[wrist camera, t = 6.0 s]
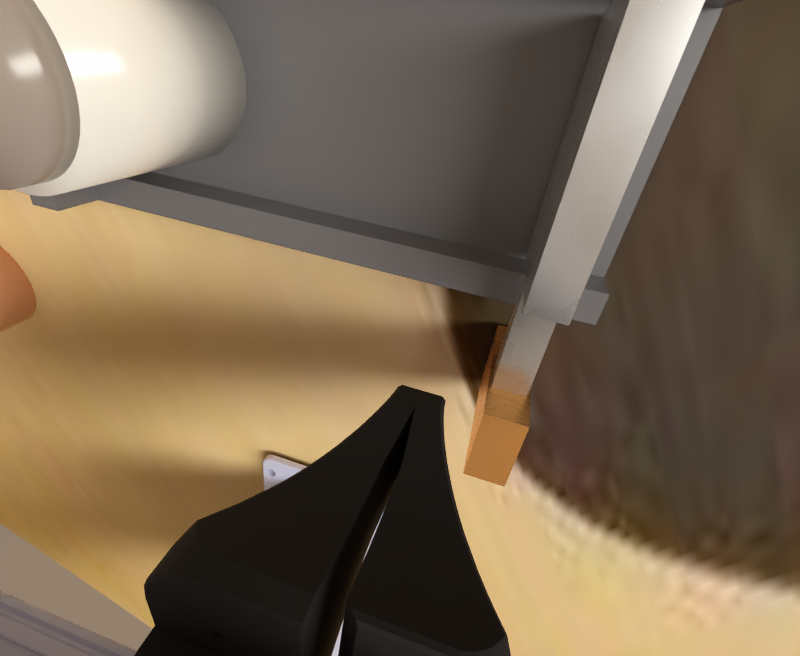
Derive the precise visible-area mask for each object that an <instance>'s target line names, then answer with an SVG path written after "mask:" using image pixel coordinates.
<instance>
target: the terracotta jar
mask: <svg viewBox="0 0 800 656" xmlns="http://www.w3.org/2000/svg"><path fill="white" fill-rule="evenodd" d="M35 309H36V299H35V294H34V291H33V288H32V286H31V284H30V282H29V280H28V278H27V276H26V275H25V273H24V272H23V270H22V269H21V267H20V266H19V265H18V263H17V262H16V261H15V260H14V259H13V258H12V257H11V256H10V254H9V253H7V252H6V251H5V250H4V249H3V248H2V247H1V246H0V332H1V331H3V330H5V329H7V328H10V327H12V326H14V325H16V324H18V323H20V322H22V321H24V320H26V319H28V318H30V317H31V316H32V315H33V314H34V312H35Z"/></svg>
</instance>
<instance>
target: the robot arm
mask: <svg viewBox="0 0 800 656" xmlns="http://www.w3.org/2000/svg"><path fill="white" fill-rule="evenodd" d="M444 406H445V399H444V398H443V397H442V396H438V395H435V394H432V393H428V392H425V391H421V390H418V389H414V388H411V387H408V386H404V385H401V386H399V387H398V388H397V389H396V390H395V392H394V393H393V394H392V395H391V396H390V398H389V399H388V400H387V401H386V402H385V403H384V404H383V405H382V406H381V407H380V408H379V409H378V410H377V411H376V412H375V413H374V414H373V415H372V416H371V417H370V418H369V419H368V420H367V421H366V422H365V423H364V424H363V425H361V426H360V427H359V428H358V429H357V430H356V431H354V432H353V433H352V434H351V435H350V436H348V437H347V438H346V439H345V440H344V441H342V442H341V443H340V444H339V445H337V446H336V447H335V448H333V449H332V450H331V451H329V452H328V453H326V454H325V455H324V456H322V457H321V458H319V459H318V460H316V461H315V462H313V463H312V464H310V465H309V466H305V465H302V464H299V463H296V462H293V461H290V460H287V459H284V458H281V457H278V456H275V455H268V456H266V458H265V459H264V461H263V476H264V491H263V492H261V493H259V494H257V495H255V496H253V497H251V498H249V499H247V500H245V501H243V502H240V503H238V504H236V505H233V506H231V507H229V508H226V509H224V510H221V511H219V512H217V513H214V514H212V515H209V516H207V517H205V518H202V519H199V520H197V521H196V522H195V523H194V524H193V525H192V526H191V527H190V528H189V529H188V530H187V531H186V532H185V533H184V534H183V536H182V537H181V538H180V539H179V540H178V541H177V542H176V543H175V544H174V545H173V546H172V547H171V549H170V550H169V551H168V553H167V554H166V555H165V556H164V558H163V559H162V560H161V561H160V563H159V564H158V565H157V567H156V568H155V569H154V570H153V572H152V573H151V574H150V575H149V577H148V578H147V580H146V582H145V584H144V590H145V597H146V600H147V603H148V606H149V609H150V612H151V615H152V617H153V620H154V623H155V626H154V628H153V629H152V631H151V632H150V634H149V635H148V636H147V638H146V639H145V641H144V642H143V644H142V645H141V646H140V648H139V649H138V651H136V650H134V649H131V648H129V647H127V646H125V645H122V644H120V643H118V642H116V641H113V640H111V639H109V638H107V637H104V636H102V635H100V634H97V633H95V632H93V631H90V630H88V629H86V628H84V627H81V626H79V625H77V624H75V623H72V622H70V621H68V620H66V619H63V618H61V617H59V616H56V615H54V614H52V613H50V612H47V611H45V610H43V609H41V608H38V607H36V606H34V605H31V604H29V603H27V602H25V601H23V600H20V599H18V598H16V597H13V596H11V595H9V594H6V593H4V592H2V591H0V656H511V654H510V649H509V643H508V638H507V634H506V632H505V630H504V628H503V626H502V624H501V622H500V620H499V617H498V615H497V613H496V611H495V609H494V607H493V605H492V602H491V600H490V598H489V596H488V594H487V591H486V589H485V587H484V584H483V582H482V579H481V577H480V575H479V572H478V570H477V567H476V564H475V562H474V559H473V556H472V553H471V551H470V548H469V545H468V542H467V540H466V537H465V534H464V531H463V527H462V524H461V521H460V517H459V514H458V510H457V507H456V503H455V499H454V495H453V491H452V486H451V481H450V476H449V471H448V465H447V458H446V450H445V441H444V423H443V420H444Z"/></svg>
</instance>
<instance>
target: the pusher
mask: <svg viewBox="0 0 800 656" xmlns="http://www.w3.org/2000/svg"><path fill="white" fill-rule="evenodd" d="M704 2H705V0H613V1H612V2H611V3H610V4H609V5H608V7H607V8H606V9H605V10H604V12H603V15H602V18H601V21H600V24H599V27H598V30H597V34H596V37H595V40H594V43H593V46H592V49H591V52H590V55H589V59H588V62H587V65H586V68H585V71H584V74H583V77H582V80H581V84H580V87H579V90H578V93H577V96H576V99H575V102H574V105H573V109H572V112H571V115H570V118H569V121H568V124H567V127H566V130H565V134H564V137H563V140H562V143H561V146H560V149H559V152H558V155H557V159H556V162H555V165H554V168H553V171H552V174H551V177H550V180H549V184H548V187H547V190H546V193H545V196H544V199H543V202H542V205H541V208H540V212H539V215H538V218H537V221H536V224H535V227H534V230H533V233H532V237H531V240H530V243H529V246H528V249H527V255H526V269H525V276H524V279H523V282H522V285H521V288H520V291H519V294H518V297H517V300H516V303H515V306H514V309H513V312H512V315H511V318H510V321H509V324H508V327H505V326H501V325H498V327H497V330H496V333H495V336H494V340H493V343H492V346H491V349H490V352H489V356H488V359H487V362H486V365H485V368H484V372H483V375H482V379H481V384H480V389H479V394H478V400H477V405H476V410H475V415H474V420H473V426H472V431H471V436H470V441H469V447H468V452H467V457H466V462H465V468H464V474H467V475H470V476H473V477H476V478H479V479H482V480H485V481H488V482H492V483H495V484H498V485H501V486H505V484H506V481H507V479H508V477H509V474H510V472H511V470H512V467H513V465H514V463H515V460H516V458H517V455H518V453H519V451H520V448H521V446H522V444H523V441H524V439H525V437H526V434H527V432H528V430H529V426H530V389H531V385H532V382H533V380H534V377H535V375H536V372H537V370H538V367H539V365H540V362H541V360H542V357H543V355H544V352H545V350H546V347H547V345H548V342H549V340H550V337H551V335H552V332H553V330H554V327H555V325H556V322H557V323H561V324H565V325H569V324H570V322H571V319H572V317H573V314H574V312H575V310H576V307H577V305H578V302H579V300H580V298H581V295H582V293H583V291H584V288H585V286H586V283H587V281H588V279H589V276H590V274H591V271H592V269H593V267H594V264H595V262H596V260H597V257H598V255H599V252H600V250H601V248H602V245H603V243H604V240H605V238H606V236H607V233H608V231H609V229H610V226H611V224H612V221H613V219H614V217H615V214H616V212H617V209H618V207H619V205H620V202H621V200H622V198H623V195H624V193H625V190H626V188H627V186H628V183H629V181H630V178H631V176H632V174H633V171H634V169H635V167H636V164H637V162H638V159H639V157H640V155H641V152H642V150H643V147H644V145H645V143H646V140H647V138H648V136H649V133H650V131H651V128H652V126H653V124H654V121H655V119H656V116H657V114H658V112H659V109H660V107H661V105H662V102H663V100H664V97H665V95H666V93H667V90H668V88H669V86H670V83H671V81H672V78H673V76H674V74H675V71H676V69H677V66H678V64H679V62H680V59H681V57H682V55H683V52H684V50H685V47H686V45H687V43H688V40H689V38H690V35H691V33H692V31H693V28H694V26H695V24H696V21H697V19H698V16H699V14H700V12H701V9H702V7H703V4H704Z"/></svg>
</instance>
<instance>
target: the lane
mask: <svg viewBox="0 0 800 656" xmlns="http://www.w3.org/2000/svg"><path fill="white" fill-rule="evenodd" d="M211 1H212V2H213V4H214V5H215V6H216V7H217V9H218V10H219V11H220V13H221V14H222V16H223V18H224V19H225V21H226V22H227V24H228V26H229V28H230V30H231V32H232V34H233V36H234V38H235V41H236V43H237V46H238V48H239V52H240V55H241V58H242V62H243V67H244V72H245V79H246V106H245V112H244V117H243V121H242V124H241V126H240V129H239V131H238V133H237V135H236V136H235V138H234V139H233V141H232V142H231V143H230V145H229V146H227V147H226V148H225V149H224V150H223V151H221V152H220V153H218V154H217V155H214V156H212V157H209V158H205V159H201V160H197V161H193V162H189V163H185V164H180V165H176V166H172V167H168V168H164V169H160V170H156V171H152V172H148V173H144V174H140V175H136V176H132V177H128V178H123V179H119V180H115V181H111V182H107V183H103V184H99V185H95V186H91V187H87V188H83V189H79V190H75V191H70V192H66V193H62V194H58V195H53V196H35V195H30V197H31V200H32V203H33V205H37V206H41V207H45V208H48V209H52V210H56V211H60V210H64V209H67V208H71V207H75V206H78V205H82V204H85V203H89V202H93V201H96V200H101V201H105V202H109V203H113V204H117V205H121V206H125V207H129V208H133V209H137V210H141V211H144V212H148V213H152V214H156V215H160V216H164V217H168V218H172V219H176V220H180V221H184V222H188V223H192V224H196V225H200V226H204V227H208V228H212V229H216V230H220V231H224V232H228V233H232V234H236V235H240V236H244V237H248V238H252V239H256V240H260V241H264V242H268V243H272V244H276V245H280V246H283V247H287V248H291V249H295V250H299V251H303V252H307V253H311V254H315V255H319V256H323V257H327V258H331V259H335V260H339V261H343V262H347V263H351V264H355V265H359V266H363V267H367V268H371V269H375V270H379V271H383V272H387V273H391V274H395V275H399V276H403V277H407V278H411V279H415V280H419V281H422V282H426V283H430V284H434V285H438V286H442V287H446V288H450V289H454V290H458V291H462V292H466V293H470V294H474V295H478V296H482V297H486V298H490V299H494V300H498V301H502V302H506V303H510V304H514V305H515V303H516V300H517V297H518V294H519V291H520V288H521V285H522V282H523V279H524V276H525V269H526V255H527V249H528V246H529V243H530V240H531V237H532V233H533V230H534V227H535V224H536V221H537V218H538V215H539V212H540V208H541V205H542V202H543V199H544V196H545V193H546V190H547V187H548V184H549V180H550V177H551V174H552V171H553V168H554V165H555V162H556V159H557V155H558V152H559V149H560V146H561V143H562V140H563V137H564V134H565V130H566V127H567V124H568V121H569V118H570V115H571V112H572V109H573V105H574V102H575V99H576V96H577V93H578V90H579V87H580V84H581V80H582V77H583V74H584V71H585V68H586V65H587V62H588V59H589V55H590V52H591V49H592V46H593V43H594V40H595V37H596V34H597V30H598V27H599V24H600V21H601V18H602V15H603V12H604V10H605V9H606V8H607V7H608V5H609V4H610V3H611V2H612V1H613V0H211ZM739 1H742V0H705V2H704V4H703V7H702V9H701V12H700V14H699V16H698V19H697V21H696V24H695V26H694V28H693V31H692V33H691V35H690V38H689V40H688V43H687V45H686V47H685V50H684V52H683V55H682V57H681V59H680V62H679V64H678V66H677V69H676V71H675V74H674V76H673V78H672V81H671V83H670V86H669V88H668V90H667V93H666V95H665V97H664V100H663V102H662V105H661V107H660V109H659V112H658V114H657V116H656V119H655V121H654V124H653V126H652V128H651V131H650V133H649V136H648V138H647V140H646V143H645V145H644V147H643V150H642V152H641V155H640V157H639V159H638V162H637V164H636V167H635V169H634V171H633V174H632V176H631V178H630V181H629V183H628V186H627V188H626V190H625V193H624V195H623V198H622V200H621V202H620V205H619V207H618V209H617V212H616V214H615V217H614V219H613V221H612V224H611V226H610V229H609V231H608V233H607V236H606V238H605V240H604V243H603V245H602V248H601V250H600V252H599V255H598V257H597V260H596V262H595V264H594V267H593V269H592V271H591V274H590V276H589V279H588V281H587V283H586V286H585V288H584V291H583V293H582V295H581V298H580V300H579V302H578V305H577V307H576V310H575V312H574V314H573V317H572V319H573V320H577V321H581V322H585V323H589V324H593V325H596V323H597V321H598V319H599V316H600V314H601V312H602V310H603V308H604V306H605V303H606V301H607V299H608V297H609V295H610V294H609V291H608V288H607V285H606V282H605V279H604V276H605V274H606V272H607V270H608V267H609V265H610V263H611V261H612V258H613V256H614V254H615V251H616V249H617V247H618V245H619V242H620V240H621V238H622V236H623V233H624V231H625V229H626V227H627V224H628V222H629V220H630V217H631V215H632V213H633V211H634V208H635V206H636V204H637V202H638V199H639V197H640V195H641V192H642V190H643V188H644V186H645V183H646V181H647V179H648V177H649V174H650V172H651V170H652V168H653V165H654V163H655V161H656V158H657V156H658V154H659V152H660V149H661V147H662V145H663V143H664V140H665V138H666V136H667V133H668V131H669V129H670V127H671V124H672V122H673V120H674V118H675V115H676V113H677V111H678V109H679V106H680V104H681V102H682V99H683V97H684V95H685V93H686V90H687V88H688V86H689V84H690V81H691V79H692V77H693V74H694V72H695V70H696V68H697V65H698V63H699V61H700V59H701V56H702V54H703V52H704V50H705V47H706V45H707V43H708V40H709V38H710V36H711V34H712V31H713V29H714V27H715V25H716V22H717V20H718V18H719V15H720V13H721V11H722V9H723V7H726V6H729V5H731V4H734V3H736V2H739Z"/></svg>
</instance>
